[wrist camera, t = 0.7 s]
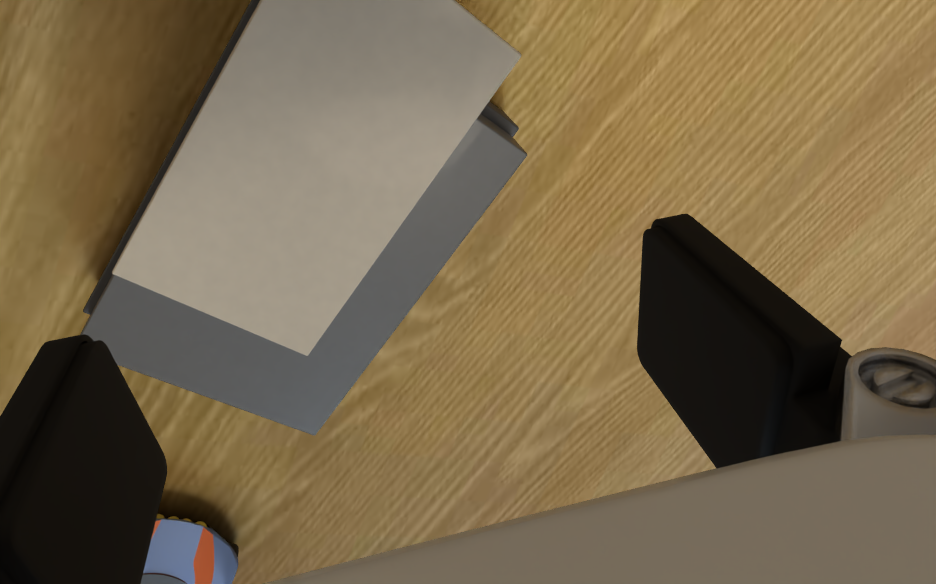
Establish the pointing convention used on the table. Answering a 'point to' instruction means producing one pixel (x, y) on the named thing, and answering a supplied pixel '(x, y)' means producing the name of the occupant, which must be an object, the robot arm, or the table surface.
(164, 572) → the toy car
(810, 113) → the table surface
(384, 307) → the grey books
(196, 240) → the beige flat block
